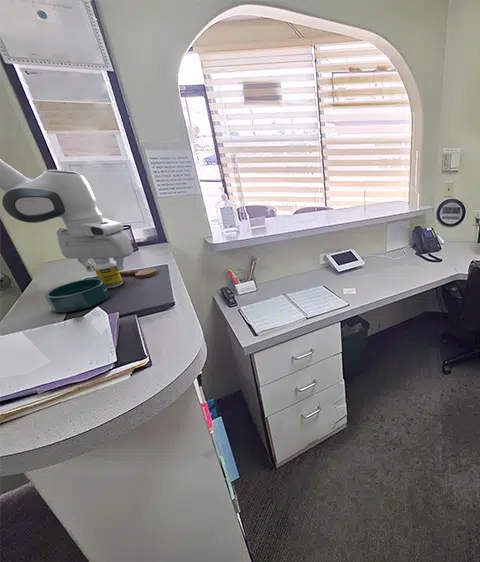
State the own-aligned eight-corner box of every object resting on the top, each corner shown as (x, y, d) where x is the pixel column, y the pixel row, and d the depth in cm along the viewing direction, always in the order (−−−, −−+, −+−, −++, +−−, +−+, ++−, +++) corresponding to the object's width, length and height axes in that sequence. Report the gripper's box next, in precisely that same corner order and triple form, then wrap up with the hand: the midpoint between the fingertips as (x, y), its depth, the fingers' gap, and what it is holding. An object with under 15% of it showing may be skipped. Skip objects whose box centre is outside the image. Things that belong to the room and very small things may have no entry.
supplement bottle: (106, 290, 96) (93, 261, 92) (100, 286, 99) (86, 258, 95) (126, 283, 100) (114, 255, 96) (119, 280, 103) (107, 252, 99)
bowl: (41, 314, 84) (31, 298, 81) (82, 293, 95) (75, 278, 93) (83, 313, 83) (75, 297, 81) (120, 292, 94) (114, 277, 92)
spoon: (90, 279, 105) (88, 275, 104) (105, 272, 111) (103, 268, 110) (148, 278, 104) (147, 273, 103) (160, 271, 109) (159, 267, 108)
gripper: (43, 230, 89) (65, 274, 95) (110, 229, 88) (128, 273, 94) (64, 225, 95) (84, 267, 101) (127, 223, 94) (143, 266, 99)
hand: (106, 270), depth 97 cm, fingers open, 8 cm apart
